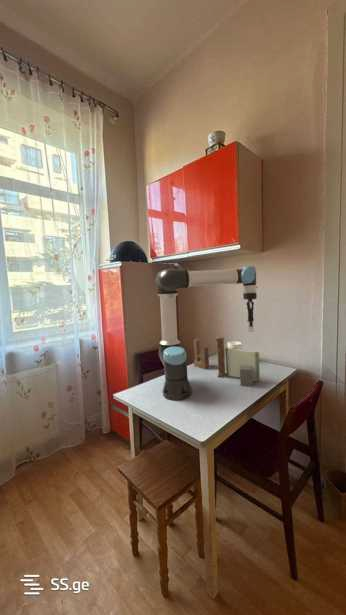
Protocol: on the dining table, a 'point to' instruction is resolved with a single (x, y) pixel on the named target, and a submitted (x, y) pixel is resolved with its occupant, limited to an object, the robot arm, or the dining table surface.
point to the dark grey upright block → (245, 375)
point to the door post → (221, 357)
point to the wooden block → (204, 356)
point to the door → (242, 362)
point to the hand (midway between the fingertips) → (250, 331)
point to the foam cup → (234, 345)
